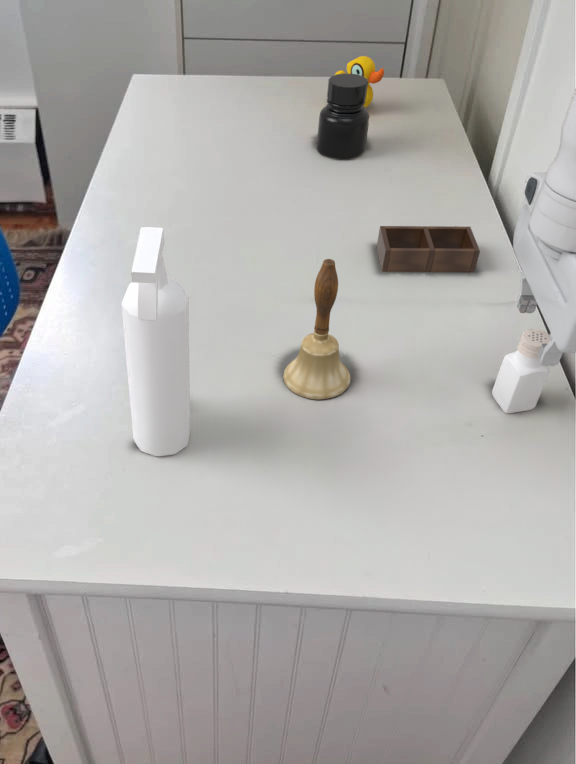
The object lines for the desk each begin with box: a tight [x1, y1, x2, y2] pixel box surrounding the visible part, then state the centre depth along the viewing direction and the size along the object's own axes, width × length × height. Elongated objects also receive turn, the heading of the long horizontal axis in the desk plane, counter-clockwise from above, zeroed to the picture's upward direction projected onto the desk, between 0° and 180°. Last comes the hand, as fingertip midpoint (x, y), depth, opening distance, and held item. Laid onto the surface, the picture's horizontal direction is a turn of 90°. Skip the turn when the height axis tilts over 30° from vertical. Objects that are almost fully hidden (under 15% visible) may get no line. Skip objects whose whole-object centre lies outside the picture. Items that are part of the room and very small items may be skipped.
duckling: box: [334, 55, 385, 109], centre depth 142 cm, size 11×5×10 cm, turn 46°
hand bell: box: [282, 258, 351, 400], centre depth 83 cm, size 8×8×16 cm
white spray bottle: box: [121, 226, 191, 457], centre depth 74 cm, size 7×12×25 cm, turn 175°
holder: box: [376, 225, 481, 274], centre depth 104 cm, size 13×7×5 cm, turn 88°
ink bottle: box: [316, 73, 370, 160], centre depth 129 cm, size 10×9×12 cm
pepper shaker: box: [491, 328, 551, 414], centre depth 82 cm, size 4×4×10 cm
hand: (535, 334), depth 78 cm, fingers open, 8 cm apart
